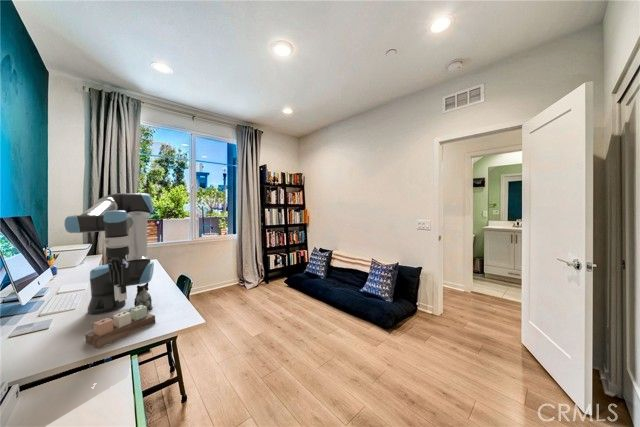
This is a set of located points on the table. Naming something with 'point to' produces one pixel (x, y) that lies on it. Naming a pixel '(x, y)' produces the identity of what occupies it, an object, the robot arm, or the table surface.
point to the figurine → (143, 297)
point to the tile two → (122, 319)
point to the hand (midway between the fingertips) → (121, 299)
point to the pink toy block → (103, 326)
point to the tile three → (138, 312)
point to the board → (119, 332)
